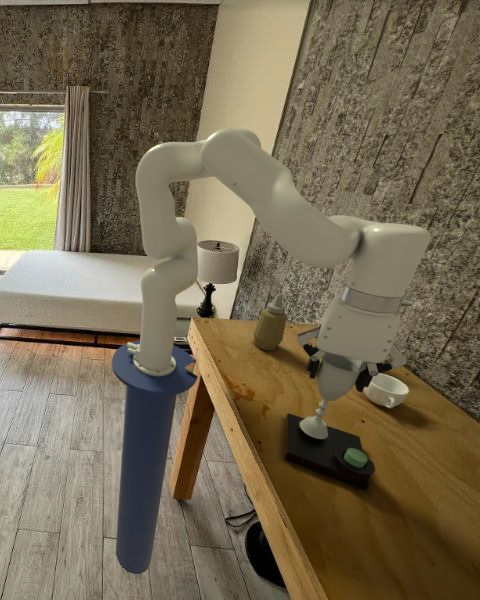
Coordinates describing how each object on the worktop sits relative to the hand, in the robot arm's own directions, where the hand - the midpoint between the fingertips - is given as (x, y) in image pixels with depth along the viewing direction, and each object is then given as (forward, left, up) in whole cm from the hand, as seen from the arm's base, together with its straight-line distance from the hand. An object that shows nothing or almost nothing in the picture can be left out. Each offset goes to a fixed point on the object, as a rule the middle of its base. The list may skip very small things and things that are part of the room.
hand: (334, 380), depth 61 cm
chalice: (0, 0, -13) cm, 13 cm away
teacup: (+16, +22, -17) cm, 32 cm away
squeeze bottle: (-10, +36, -17) cm, 41 cm away
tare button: (+6, -6, -13) cm, 15 cm away
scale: (+2, -2, -16) cm, 17 cm away
